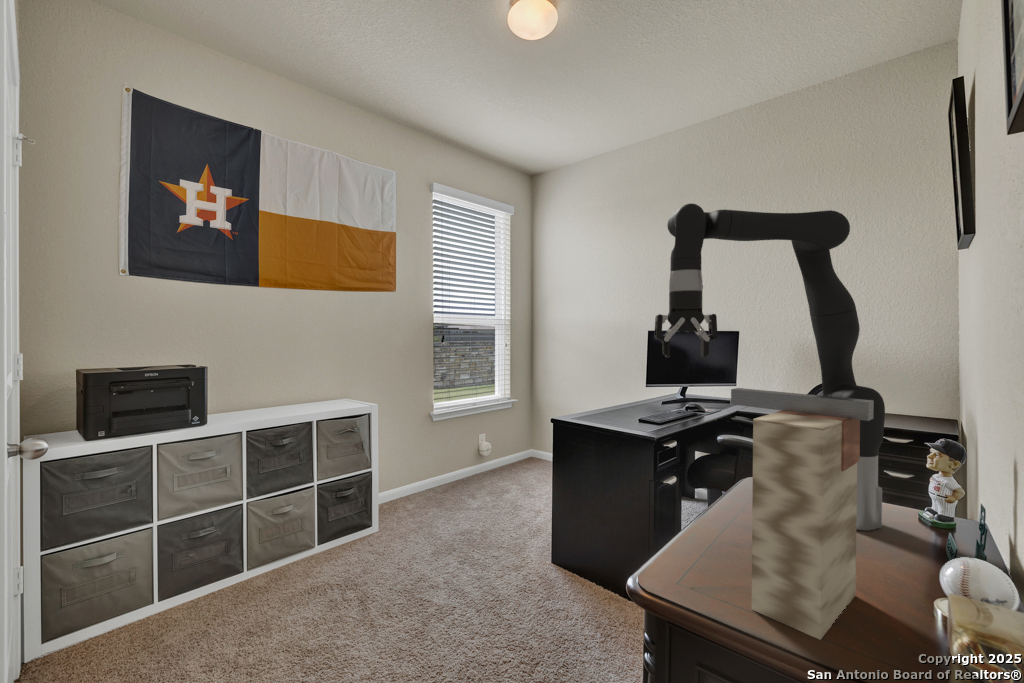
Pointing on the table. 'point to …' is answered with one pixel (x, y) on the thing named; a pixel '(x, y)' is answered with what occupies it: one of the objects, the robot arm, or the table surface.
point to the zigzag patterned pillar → (804, 518)
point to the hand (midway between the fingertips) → (685, 357)
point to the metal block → (804, 403)
